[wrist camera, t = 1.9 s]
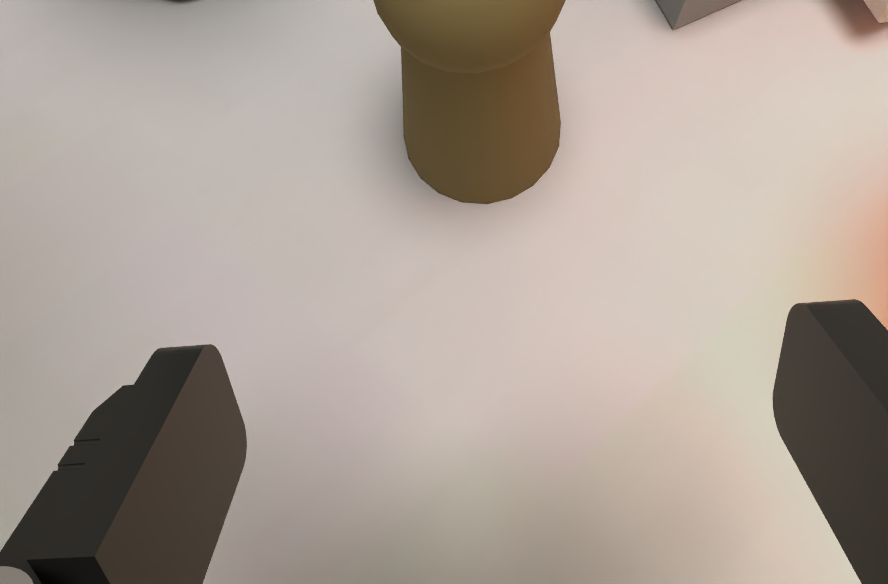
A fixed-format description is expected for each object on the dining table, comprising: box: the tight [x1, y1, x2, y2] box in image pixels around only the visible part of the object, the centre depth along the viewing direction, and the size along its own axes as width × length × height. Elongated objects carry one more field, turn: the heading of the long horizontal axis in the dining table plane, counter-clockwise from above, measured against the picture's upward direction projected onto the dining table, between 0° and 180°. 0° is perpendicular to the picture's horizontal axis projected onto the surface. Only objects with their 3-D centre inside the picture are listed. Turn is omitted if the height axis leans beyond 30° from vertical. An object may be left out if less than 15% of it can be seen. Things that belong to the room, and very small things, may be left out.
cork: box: [374, 0, 565, 204], centre depth 22 cm, size 6×6×11 cm
